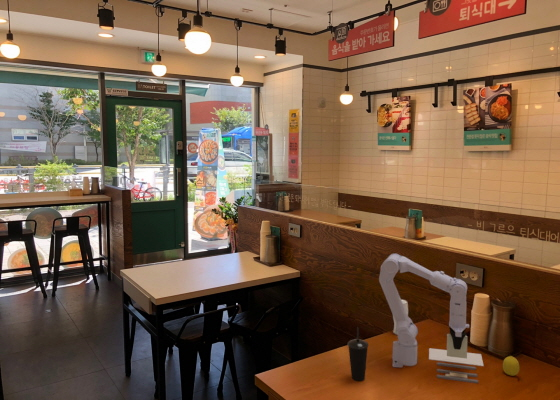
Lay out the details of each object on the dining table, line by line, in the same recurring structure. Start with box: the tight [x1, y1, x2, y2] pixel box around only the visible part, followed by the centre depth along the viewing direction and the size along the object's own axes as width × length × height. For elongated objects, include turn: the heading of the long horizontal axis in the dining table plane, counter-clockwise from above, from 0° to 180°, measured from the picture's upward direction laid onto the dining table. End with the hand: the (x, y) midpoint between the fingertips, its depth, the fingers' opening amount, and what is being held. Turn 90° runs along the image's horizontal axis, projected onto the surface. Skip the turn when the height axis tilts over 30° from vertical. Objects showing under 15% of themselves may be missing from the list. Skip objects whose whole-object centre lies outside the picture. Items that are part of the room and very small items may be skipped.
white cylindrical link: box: [392, 298, 409, 336], centre depth 209 cm, size 7×7×15 cm
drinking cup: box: [347, 326, 369, 382], centre depth 169 cm, size 8×8×20 cm
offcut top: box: [450, 372, 469, 379], centre depth 167 cm, size 6×2×1 cm, turn 71°
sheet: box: [446, 333, 468, 358], centre depth 171 cm, size 7×2×8 cm, turn 71°
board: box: [428, 348, 484, 367], centre depth 183 cm, size 20×10×2 cm, turn 71°
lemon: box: [502, 355, 520, 377], centre depth 169 cm, size 6×6×8 cm
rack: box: [436, 361, 479, 384], centre depth 170 cm, size 14×12×2 cm
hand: (457, 347), depth 171 cm, fingers closed on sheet, 2 cm apart
